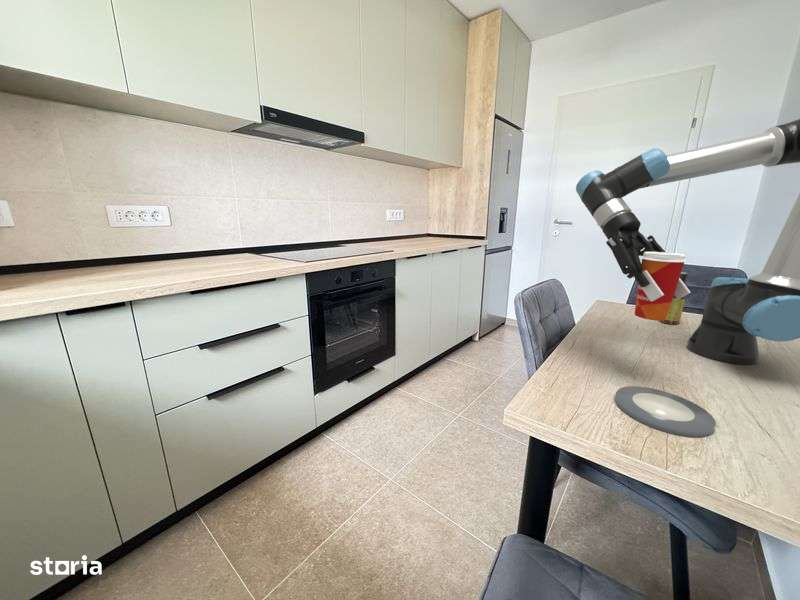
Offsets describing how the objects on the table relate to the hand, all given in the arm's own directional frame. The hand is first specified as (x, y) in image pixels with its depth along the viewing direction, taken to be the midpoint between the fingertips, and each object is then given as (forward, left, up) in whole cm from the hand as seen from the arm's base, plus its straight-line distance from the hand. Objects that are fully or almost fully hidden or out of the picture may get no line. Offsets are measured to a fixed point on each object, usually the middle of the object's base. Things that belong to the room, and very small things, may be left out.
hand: (670, 296), depth 72 cm
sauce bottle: (-58, -31, -22) cm, 70 cm away
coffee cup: (0, -3, -6) cm, 7 cm away
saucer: (+10, +9, -22) cm, 25 cm away
